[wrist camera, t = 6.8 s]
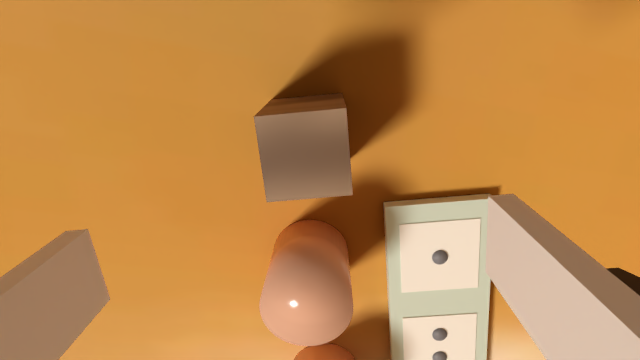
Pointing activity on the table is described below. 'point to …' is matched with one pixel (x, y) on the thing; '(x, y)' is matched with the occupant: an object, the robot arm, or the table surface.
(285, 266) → the peach capsule
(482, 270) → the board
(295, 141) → the walnut block
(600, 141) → the table surface
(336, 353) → the pink capsule pill
